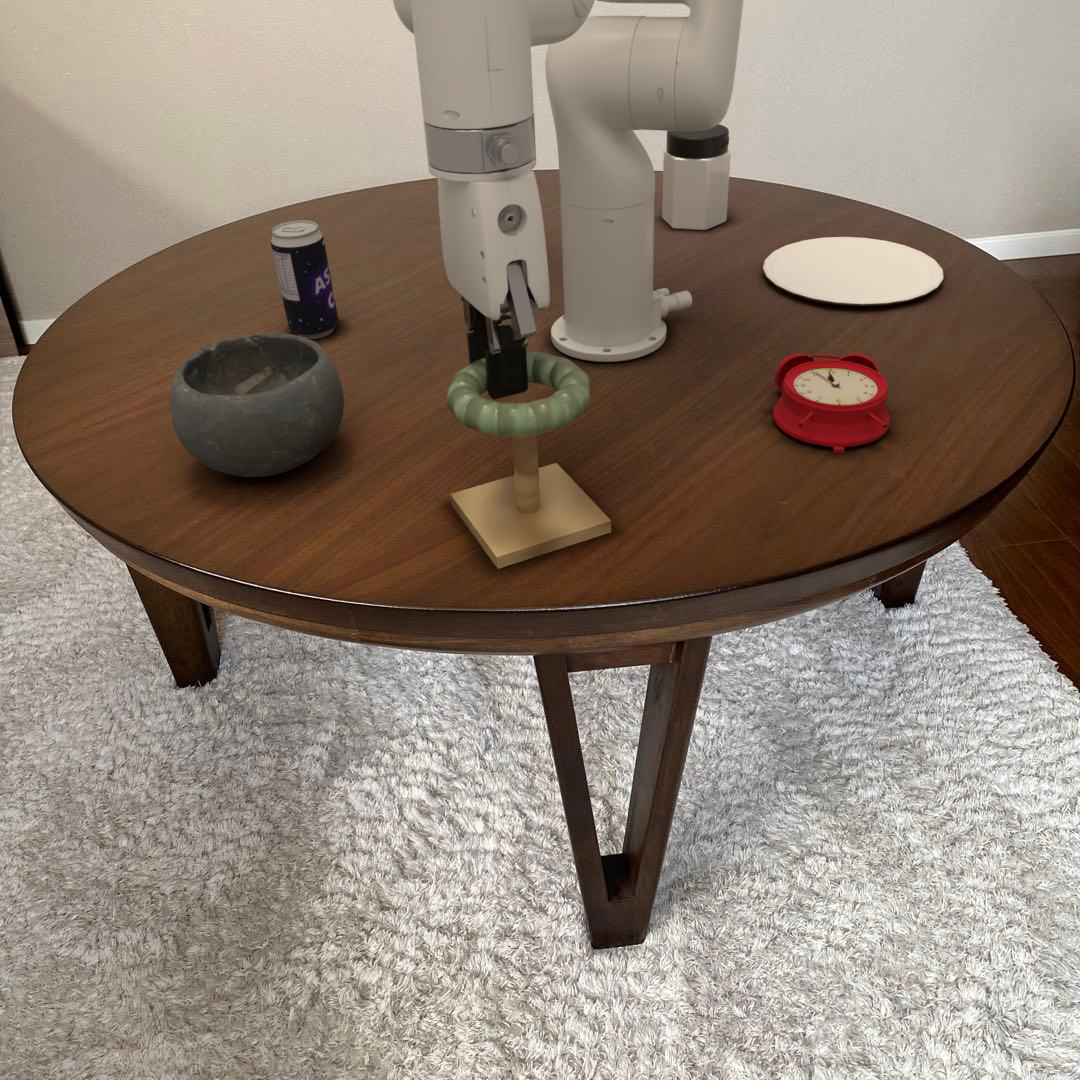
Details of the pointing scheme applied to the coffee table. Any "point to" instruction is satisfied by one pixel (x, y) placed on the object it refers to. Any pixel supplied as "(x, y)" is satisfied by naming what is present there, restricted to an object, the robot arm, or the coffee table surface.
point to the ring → (521, 416)
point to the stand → (529, 509)
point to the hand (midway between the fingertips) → (499, 383)
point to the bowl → (257, 403)
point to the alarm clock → (831, 400)
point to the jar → (696, 178)
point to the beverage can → (304, 278)
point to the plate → (853, 271)
